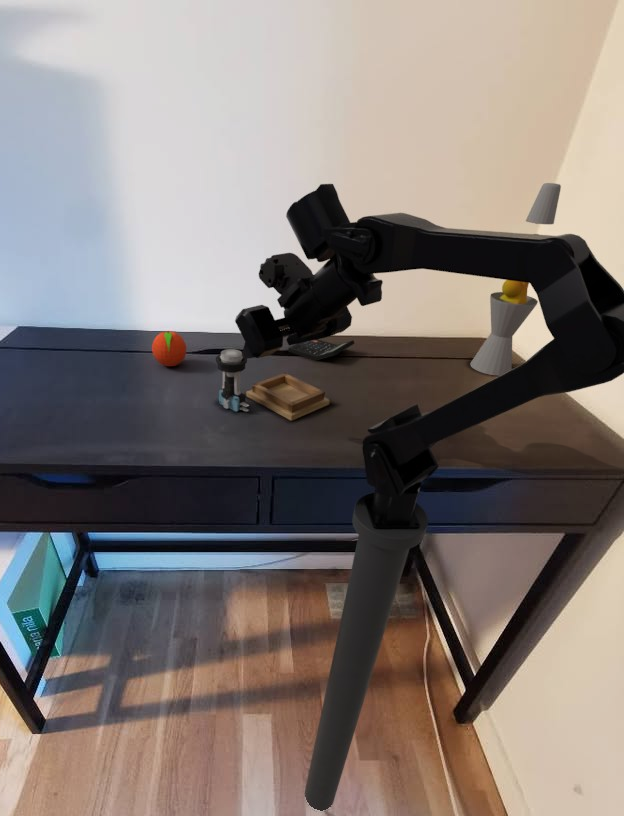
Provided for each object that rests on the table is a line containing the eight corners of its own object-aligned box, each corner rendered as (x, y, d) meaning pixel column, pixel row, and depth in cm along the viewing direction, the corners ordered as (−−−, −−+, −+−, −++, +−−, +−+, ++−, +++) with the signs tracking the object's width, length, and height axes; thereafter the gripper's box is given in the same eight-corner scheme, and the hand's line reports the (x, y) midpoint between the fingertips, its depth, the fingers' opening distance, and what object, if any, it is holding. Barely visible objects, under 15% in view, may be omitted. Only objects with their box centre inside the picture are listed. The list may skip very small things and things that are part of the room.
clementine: (188, 373, 99) (186, 339, 95) (153, 374, 98) (149, 339, 94) (186, 358, 105) (184, 325, 101) (153, 359, 104) (150, 325, 100)
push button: (257, 408, 88) (259, 355, 82) (236, 418, 85) (237, 364, 79) (231, 396, 91) (231, 344, 86) (210, 405, 88) (209, 352, 82)
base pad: (329, 404, 91) (331, 392, 89) (291, 421, 85) (292, 408, 83) (284, 382, 97) (285, 370, 96) (246, 396, 92) (246, 384, 90)
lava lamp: (493, 357, 113) (552, 181, 92) (521, 373, 106) (592, 186, 85) (461, 361, 110) (514, 180, 90) (487, 377, 104) (551, 186, 83)
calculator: (309, 340, 117) (310, 328, 115) (353, 353, 112) (355, 340, 110) (288, 351, 111) (289, 338, 109) (333, 365, 105) (334, 352, 104)
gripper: (347, 229, 68) (286, 292, 81) (246, 242, 57) (194, 312, 70) (383, 301, 68) (316, 352, 81) (288, 327, 57) (228, 382, 70)
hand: (267, 348), depth 76 cm, fingers open, 9 cm apart
